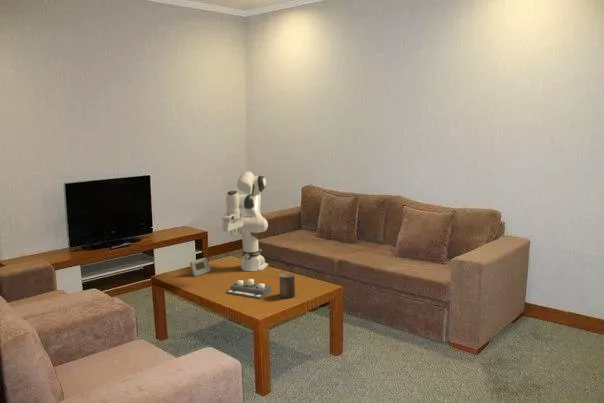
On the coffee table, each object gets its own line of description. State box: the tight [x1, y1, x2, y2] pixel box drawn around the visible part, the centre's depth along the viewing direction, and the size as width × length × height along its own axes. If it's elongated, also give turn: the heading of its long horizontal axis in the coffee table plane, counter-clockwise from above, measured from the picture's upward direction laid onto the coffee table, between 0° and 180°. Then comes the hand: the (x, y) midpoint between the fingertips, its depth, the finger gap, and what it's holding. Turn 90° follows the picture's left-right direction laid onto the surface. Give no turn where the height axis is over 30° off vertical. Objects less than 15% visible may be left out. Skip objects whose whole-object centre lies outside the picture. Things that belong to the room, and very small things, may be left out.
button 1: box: [236, 279, 244, 286], centre depth 318 cm, size 4×4×4 cm
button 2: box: [246, 278, 255, 287], centre depth 315 cm, size 4×4×4 cm
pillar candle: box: [278, 272, 296, 299], centre depth 307 cm, size 10×10×15 cm
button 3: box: [257, 282, 266, 289], centre depth 312 cm, size 4×4×4 cm
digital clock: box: [189, 257, 211, 277], centre depth 352 cm, size 16×9×11 cm, turn 132°
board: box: [226, 281, 273, 300], centre depth 314 cm, size 15×25×4 cm, turn 65°
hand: (233, 235), depth 328 cm, fingers closed
